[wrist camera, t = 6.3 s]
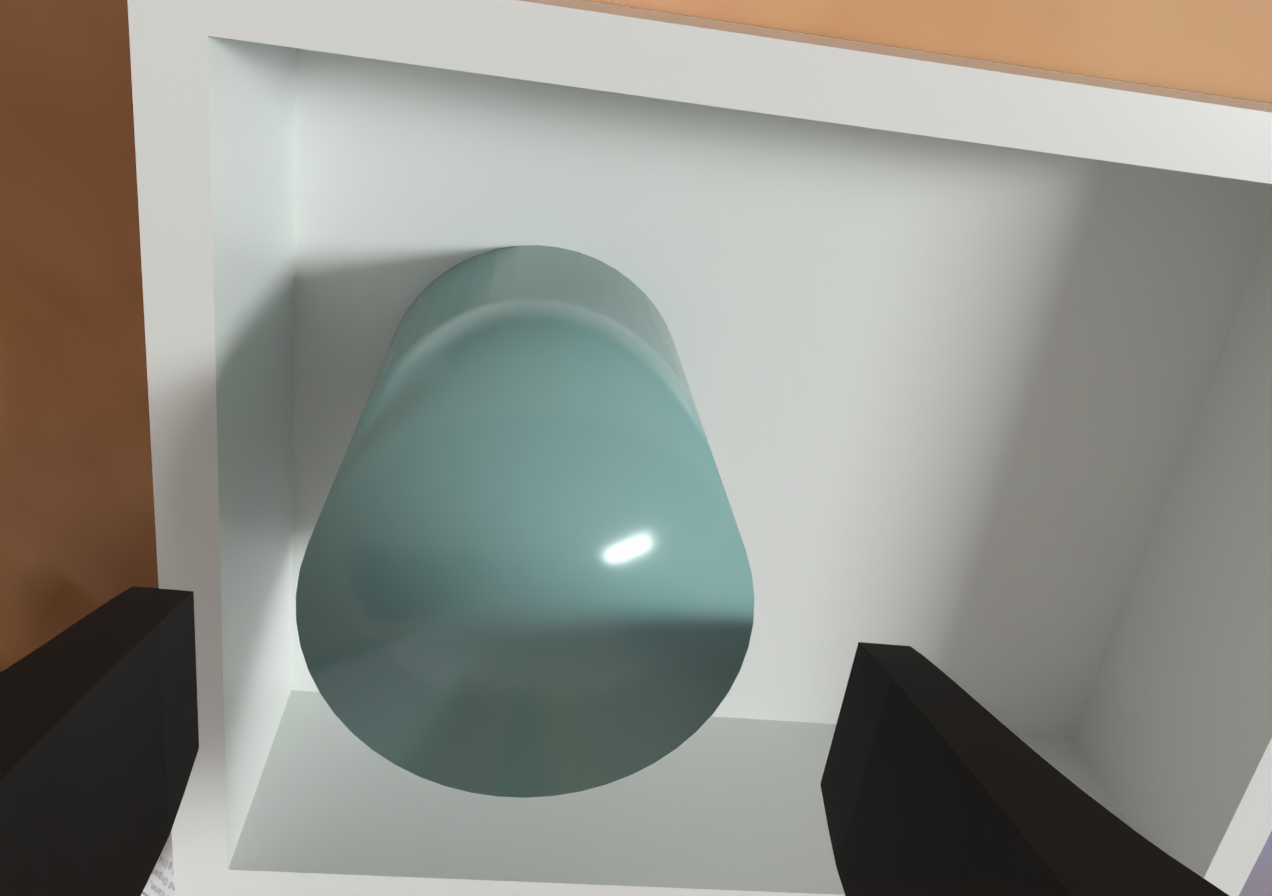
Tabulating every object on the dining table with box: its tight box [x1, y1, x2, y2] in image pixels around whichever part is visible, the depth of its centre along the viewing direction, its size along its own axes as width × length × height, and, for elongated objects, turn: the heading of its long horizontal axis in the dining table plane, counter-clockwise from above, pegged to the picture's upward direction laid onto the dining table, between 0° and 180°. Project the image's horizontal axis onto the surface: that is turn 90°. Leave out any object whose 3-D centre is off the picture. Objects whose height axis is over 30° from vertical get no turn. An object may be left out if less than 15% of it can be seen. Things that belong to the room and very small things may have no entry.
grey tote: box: [127, 0, 1272, 896], centre depth 17 cm, size 14×18×5 cm
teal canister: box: [296, 245, 754, 798], centre depth 15 cm, size 5×5×7 cm
